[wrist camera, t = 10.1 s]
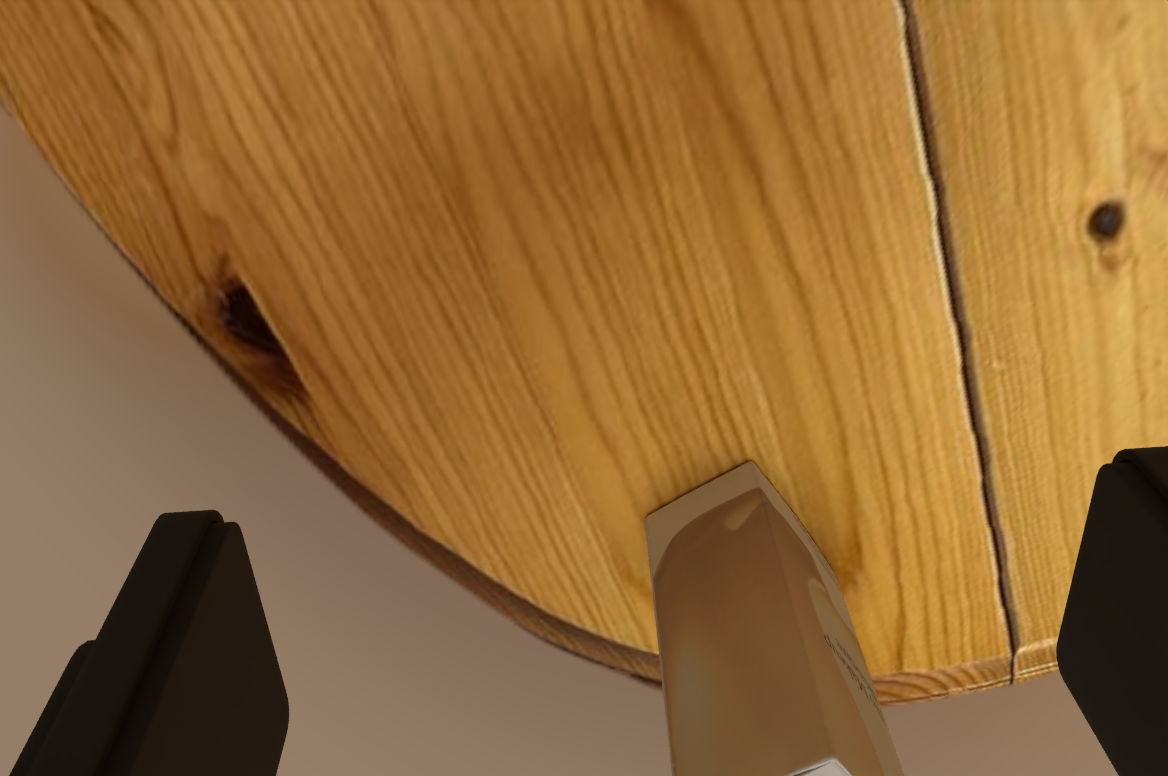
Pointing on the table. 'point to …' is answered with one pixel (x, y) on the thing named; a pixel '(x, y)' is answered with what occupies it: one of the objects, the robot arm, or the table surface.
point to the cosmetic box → (757, 642)
